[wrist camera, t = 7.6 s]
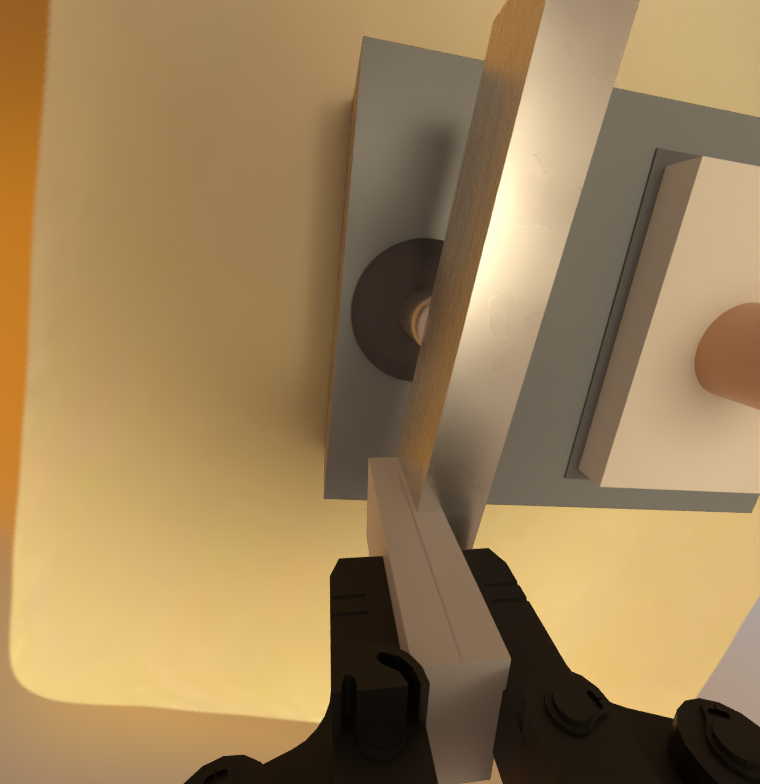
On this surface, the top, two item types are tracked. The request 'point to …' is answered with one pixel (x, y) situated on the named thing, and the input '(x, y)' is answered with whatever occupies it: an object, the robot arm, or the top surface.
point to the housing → (568, 294)
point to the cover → (688, 343)
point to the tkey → (504, 243)
